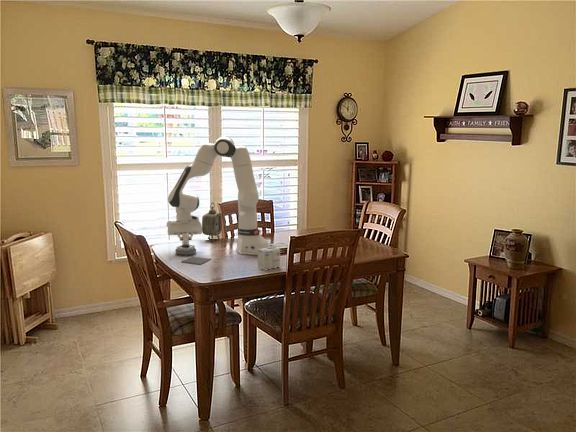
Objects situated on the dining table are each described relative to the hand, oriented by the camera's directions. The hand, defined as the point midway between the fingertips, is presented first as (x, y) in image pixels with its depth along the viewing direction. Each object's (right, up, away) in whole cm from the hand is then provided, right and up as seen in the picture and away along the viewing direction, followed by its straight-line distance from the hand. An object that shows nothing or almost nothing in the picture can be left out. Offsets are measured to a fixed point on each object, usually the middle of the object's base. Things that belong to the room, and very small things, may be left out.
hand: (185, 239), depth 299 cm
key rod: (0, -6, +2) cm, 6 cm away
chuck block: (0, -8, +2) cm, 8 cm away
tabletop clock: (+9, -2, +41) cm, 42 cm away
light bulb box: (+50, -14, -24) cm, 57 cm away
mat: (+9, -11, -14) cm, 20 cm away
